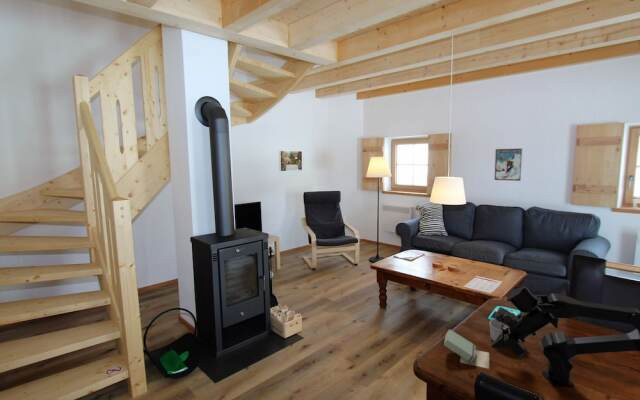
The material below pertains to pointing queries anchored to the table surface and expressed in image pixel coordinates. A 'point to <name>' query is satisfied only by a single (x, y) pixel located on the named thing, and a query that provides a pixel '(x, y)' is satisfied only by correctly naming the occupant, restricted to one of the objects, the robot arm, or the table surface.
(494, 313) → the handheld game console
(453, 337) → the pale mint rectangular box
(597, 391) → the table surface
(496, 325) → the teacup
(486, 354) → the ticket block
